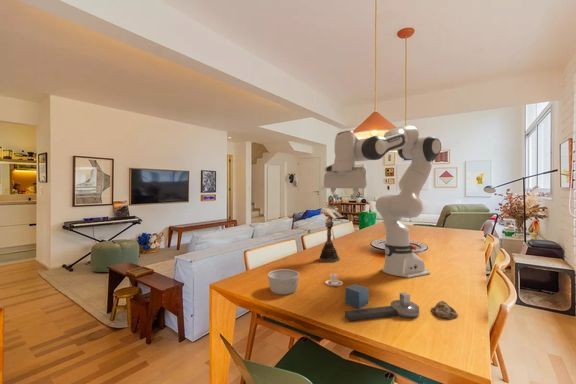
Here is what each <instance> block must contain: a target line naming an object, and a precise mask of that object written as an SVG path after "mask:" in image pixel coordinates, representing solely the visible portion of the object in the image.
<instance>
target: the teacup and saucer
mask: <svg viewBox="0 0 576 384" xmlns="http://www.w3.org/2000/svg"><path fill="white" fill-rule="evenodd" d="M329 282H330V283H329ZM325 284H326V285H328V286H331V287H340V286H343V284H344V282H343V281H341V280H339V279H338V274H336V273H330V279H327V280H326V281H325Z"/></svg>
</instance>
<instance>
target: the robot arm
mask: <svg viewBox="0 0 576 384" xmlns="http://www.w3.org/2000/svg"><path fill="white" fill-rule="evenodd" d="M417 128H418V127H417ZM417 128H416V127H415V126H413V125H401V126H400V125H399V126H396V127H393V128H391V129H389V130H388V131H386V132H384V135H383V136H378V135H374V136H370V137H367V138H363V139H361V138H359V137H358V136H357V135H356V134H355V133H354V131H353V130H345V131H341V132H338V133H336V135H335V139H334V163H332V164H330V165H327V166H326V167H325V168H324V172H325V173H324V176H323V186H324V187H323V188H324V189H330V192H331V194H332V199H338V196H339V195H338V194H337V193H336V191H337V189H352V191H353V193H352V194H351V195H350V200H356V199H357V194H358V193H359V189H365V188H366V187H367V177H366V175H367V170H366V168H365V167H363V166H355V165H356V164H355V162H364V161H366V162H367V161H377V160H380V159H382V158H383V157H384V156H385V155H386V154H387V153H388V152H390V151H391V152H392V151H393V152H394V151H397V153H398V156H399V158H401V159H403V160H411V163H410V165H409V166H408V167H407V169H406V170H405V172H404V173H403V175H402V176H401V178H400V180H399V181H398V188H399V189H400V192H399V194H398V195H397V194H396V195H395V194H385V195H381V196H379V197H378V198H377V199H376V200H375V211H377V213H378V214H379V215H380V216H381V218H382V220H383V224H384V228H385V243H384V253H385V257H384V262H383V263H384V264H383V268H382V272H383V273H385V274H388V275H390V276H397V277H398V276H399V277H403V278H408V279H409V278H414V277H415V278H416V277H420V276H425V275H430V274H431V272H430V270H429V269H427V268H426V266H425V262H424V260H423V259H422V258H421V257H420V256H418V255H417V254H416V253H415V252H414V251H417V249H418V247H417V245H412V244H410V229H409V227H408V226H407V225H406V224H405V222H404V221H403V219H412V218H417V217H420V215H421V214H422V211H423V203H422V200H421V199H420V193H421V190H422V189H423V187H424V185H425V184H426V182H427V180H428V178H429V176H430V174H431V171H432V162H433V161H435V160H436V158H437V157H438V156H439V154H440V153H441V151H442V143H441V140H440V139H439V138H438V137H436V136H423V137H419V136H420V132H419V130H418V129H417ZM402 218H403V219H402ZM413 250H414V251H413Z"/></svg>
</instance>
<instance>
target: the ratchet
mask: <svg viewBox="0 0 576 384" xmlns="http://www.w3.org/2000/svg"><path fill="white" fill-rule="evenodd" d="M392 317H398V318H401V319H409V320H411V319H412V320H413V319H417V318H419V317H420V306H419V305H418V304H416V303H415V302H412V301H411V294H409V293H408V292H404V291H403V292H399V299H395V300H392V301H391V302H390V305H387V306H375V307H368V308H360V309H358V308H356V309H351V310H344V318H346V320H347V321H348V322H350V323H351V322H357V321H358V322H359V321H367V320H374V319H384V318H392Z"/></svg>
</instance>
